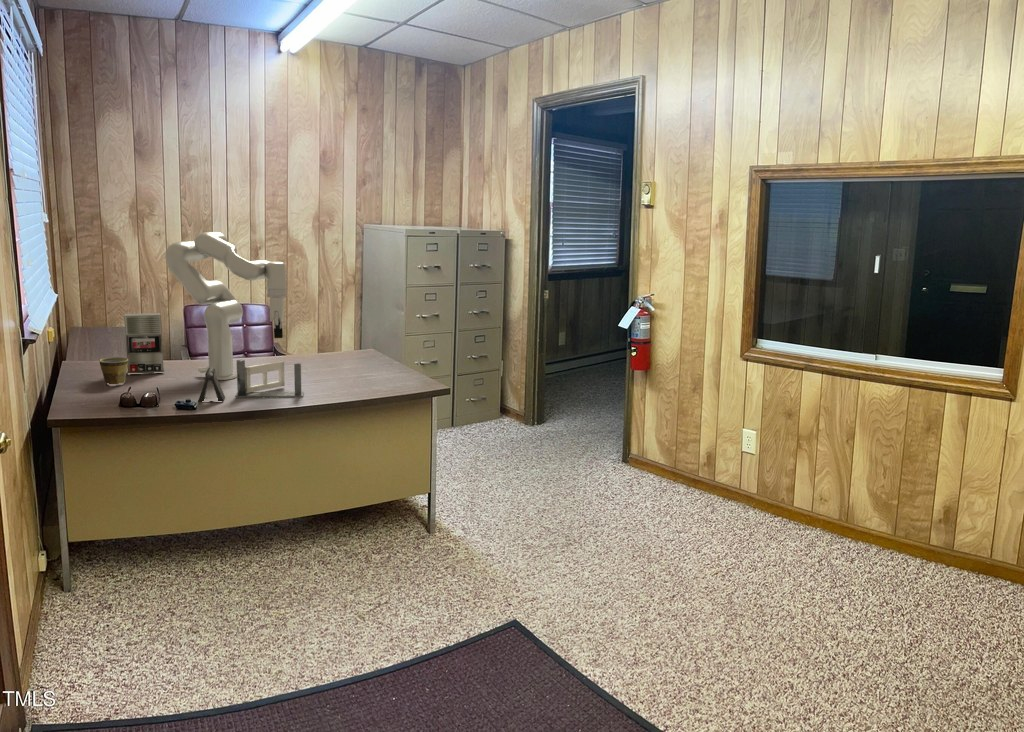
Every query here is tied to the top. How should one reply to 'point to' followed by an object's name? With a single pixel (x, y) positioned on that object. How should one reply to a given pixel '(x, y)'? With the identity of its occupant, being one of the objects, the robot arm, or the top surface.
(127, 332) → the cassette tape recorder
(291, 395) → the gate frame
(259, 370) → the gate
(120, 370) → the ceramic cup
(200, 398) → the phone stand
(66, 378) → the top surface
